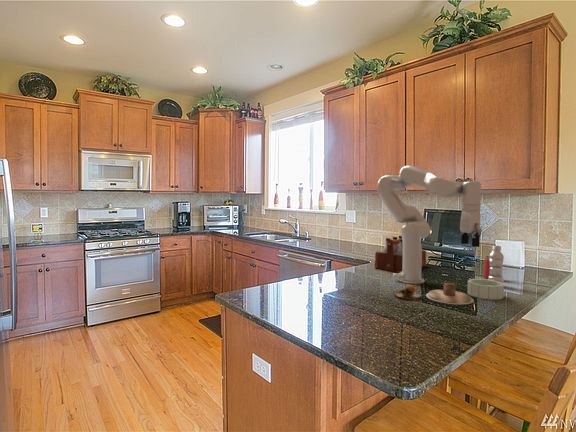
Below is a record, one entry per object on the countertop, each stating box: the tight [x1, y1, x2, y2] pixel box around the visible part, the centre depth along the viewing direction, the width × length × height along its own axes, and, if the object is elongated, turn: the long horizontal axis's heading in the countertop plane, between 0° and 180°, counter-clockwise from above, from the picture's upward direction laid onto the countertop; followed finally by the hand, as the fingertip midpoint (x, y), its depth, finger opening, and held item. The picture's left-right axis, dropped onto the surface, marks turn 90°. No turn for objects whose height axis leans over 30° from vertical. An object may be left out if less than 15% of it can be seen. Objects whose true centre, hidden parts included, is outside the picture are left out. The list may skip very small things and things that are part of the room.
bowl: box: [466, 278, 505, 300], centre depth 155 cm, size 14×14×6 cm
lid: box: [428, 282, 472, 305], centre depth 151 cm, size 17×17×6 cm
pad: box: [425, 292, 475, 305], centre depth 151 cm, size 19×19×1 cm
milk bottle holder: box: [374, 235, 427, 273], centre depth 217 cm, size 21×35×19 cm, turn 137°
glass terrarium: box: [393, 284, 422, 301], centre depth 152 cm, size 12×12×8 cm
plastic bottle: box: [487, 245, 505, 284], centre depth 173 cm, size 6×7×20 cm
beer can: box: [483, 255, 490, 280], centre depth 187 cm, size 7×7×12 cm
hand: (469, 245), depth 158 cm, fingers open, 9 cm apart
